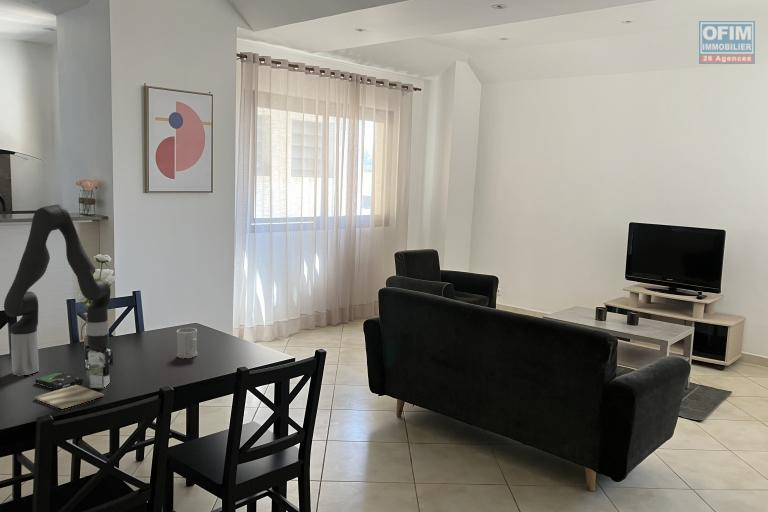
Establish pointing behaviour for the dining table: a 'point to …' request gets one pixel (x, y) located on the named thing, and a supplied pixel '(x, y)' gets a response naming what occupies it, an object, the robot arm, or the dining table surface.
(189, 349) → the cup
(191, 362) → the dining table surface
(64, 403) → the birch board
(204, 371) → the dining table surface
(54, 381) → the disk drive
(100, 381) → the syrup box
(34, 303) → the robot arm
